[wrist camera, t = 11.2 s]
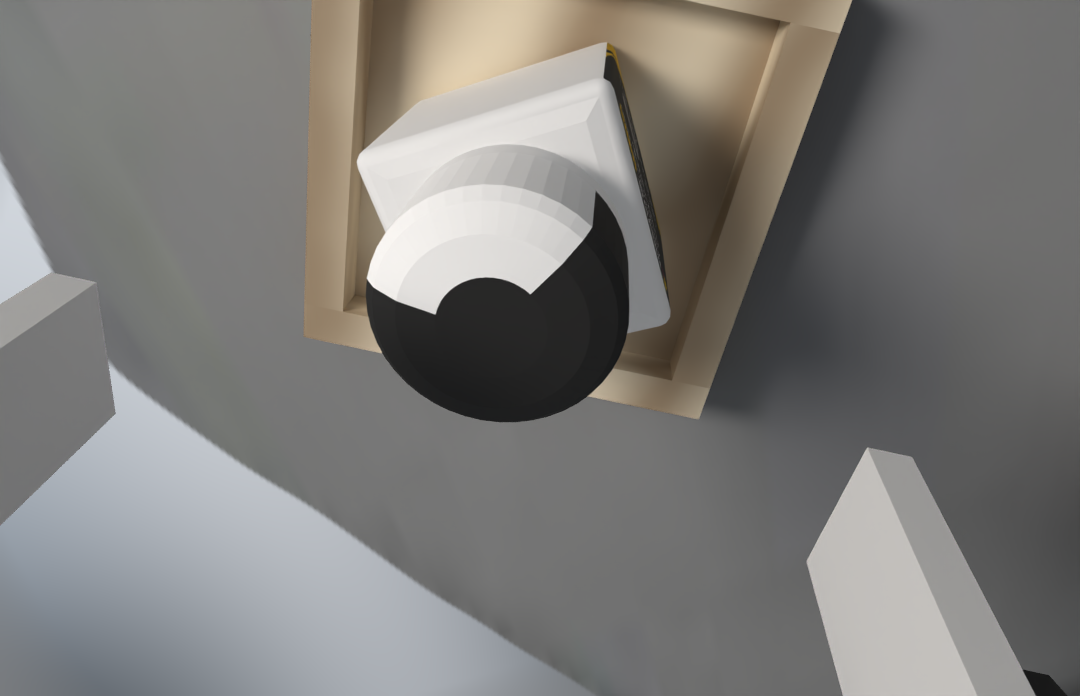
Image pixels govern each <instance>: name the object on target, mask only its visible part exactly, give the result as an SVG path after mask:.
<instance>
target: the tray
mask: <svg viewBox="0 0 1080 696" xmlns="http://www.w3.org/2000/svg"><path fill="white" fill-rule="evenodd" d="M851 2H852V0H312V15H311V56H310V97H309V138H308V179H307V220H306V261H305V302H304V337H307V338H312V339H316V340H321V341H326V342H331V343H335V344H340V345H345V346H350V347H355V348H359V349H364V350H369V351H374V352H379V353H382V351H381V349H380V347H379V346H378V344H377V342H376V339H375V337H374V334H373V332H372V329H371V326H370V322H369V317H368V313H367V305H366V283H367V276H368V271H369V267H370V263H371V260H372V258H373V255H374V253H375V250H376V248H377V246H378V244H379V243H380V241H381V239H382V238H383V236H384V235H385V233H386V232H385V230H384V228H383V225H382V223H381V221H380V218H379V216H378V214H377V212H376V209H375V207H374V205H373V202H372V200H371V198H370V195H369V193H368V191H367V188H366V186H365V184H364V182H363V179H362V177H361V175H360V172H359V170H358V166H357V159H358V156H359V154H360V153H361V152H362V151H363V150H364V149H366V148H367V147H368V146H369V145H370V144H371V143H372V142H373V141H375V140H376V139H377V138H378V137H379V136H380V135H381V134H383V133H384V132H385V131H386V130H387V129H388V128H389V127H390V126H392V125H393V124H394V123H395V122H396V121H397V120H398V119H400V118H401V117H402V116H403V115H404V114H405V113H406V112H407V111H409V110H410V109H411V108H412V107H413V106H414V105H415V104H417V103H418V102H420V101H421V100H424V99H428V98H431V97H434V96H437V95H440V94H443V93H446V92H449V91H452V90H456V89H459V88H462V87H465V86H468V85H471V84H474V83H477V82H480V81H483V80H487V79H490V78H493V77H496V76H499V75H502V74H505V73H508V72H511V71H515V70H518V69H521V68H524V67H527V66H530V65H533V64H536V63H539V62H543V61H546V60H549V59H552V58H555V57H558V56H561V55H564V54H567V53H571V52H574V51H577V50H580V49H583V48H586V47H589V46H592V45H595V44H598V43H605V42H607V43H609V44H611V45H612V46H613V47H614V49H615V51H616V55H617V59H618V63H619V67H620V71H621V75H622V79H623V83H624V87H625V91H626V95H627V99H628V103H629V107H630V111H631V115H632V119H633V124H634V128H635V132H636V136H637V140H638V144H639V148H640V152H641V156H642V160H643V164H644V168H645V172H646V176H647V180H648V184H649V188H650V192H651V196H652V200H653V204H654V208H655V212H656V216H657V220H658V224H659V228H660V233H661V241H662V248H663V256H664V264H665V271H666V279H667V287H668V295H669V302H670V310H671V311H670V318H669V319H668V321H667V322H666V323H665V324H663V325H661V326H658V327H653V328H649V329H644V330H640V331H636V332H631V333H627V336H626V341H625V344H624V347H623V349H622V352H621V355H620V357H619V359H618V361H617V362H616V364H615V366H614V368H613V369H612V371H611V372H610V373H609V375H608V376H607V377H606V379H605V380H604V381H603V383H601V384H600V385H599V386H598V387H597V388H596V389H595V390H594V391H593V392H592V393H591V394H590V395H588V396H589V397H594V398H599V399H604V400H608V401H613V402H618V403H623V404H628V405H632V406H637V407H642V408H647V409H651V410H656V411H661V412H666V413H671V414H675V415H680V416H685V417H690V418H695V419H699V417H700V414H701V412H702V409H703V406H704V404H705V401H706V398H707V395H708V393H709V390H710V387H711V384H712V382H713V379H714V376H715V374H716V371H717V368H718V365H719V363H720V360H721V357H722V354H723V352H724V349H725V346H726V343H727V341H728V338H729V335H730V333H731V330H732V327H733V324H734V322H735V319H736V316H737V313H738V311H739V308H740V305H741V303H742V300H743V297H744V294H745V292H746V289H747V286H748V283H749V281H750V278H751V275H752V272H753V270H754V267H755V264H756V262H757V259H758V256H759V253H760V251H761V248H762V245H763V242H764V240H765V237H766V234H767V232H768V229H769V226H770V223H771V221H772V218H773V215H774V212H775V210H776V207H777V204H778V201H779V199H780V196H781V193H782V191H783V188H784V185H785V182H786V180H787V177H788V174H789V171H790V169H791V166H792V163H793V161H794V158H795V155H796V152H797V150H798V147H799V144H800V141H801V139H802V136H803V133H804V131H805V128H806V125H807V122H808V120H809V117H810V114H811V111H812V109H813V106H814V103H815V100H816V98H817V95H818V92H819V90H820V87H821V84H822V81H823V79H824V76H825V73H826V70H827V68H828V65H829V62H830V60H831V57H832V54H833V51H834V49H835V46H836V43H837V40H838V38H839V35H840V32H841V29H842V27H843V24H844V21H845V19H846V16H847V13H848V10H849V8H850V5H851Z"/></svg>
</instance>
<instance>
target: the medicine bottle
mask: <svg viewBox="0 0 1080 696" xmlns="http://www.w3.org/2000/svg"><path fill="white" fill-rule="evenodd" d="M357 166H358V170H359V172H360V175H361V177H362V179H363V182H364V184H365V186H366V188H367V191H368V193H369V195H370V198H371V200H372V202H373V205H374V207H375V209H376V212H377V214H378V216H379V218H380V221H381V223H382V225H383V228H384V230H385V232H386V233H385V235H384V236H383V238H382V239H381V241H380V243H379V244H378V246H377V248H376V250H375V253H374V255H373V258H372V260H371V263H370V267H369V271H368V276H367V283H366V305H367V313H368V317H369V322H370V326H371V329H372V332H373V334H374V337H375V339H376V342H377V344H378V346H379V347H380V349H381V351H382V353H383V355H384V356H385V358H386V359H387V361H388V362H389V363H390V365H391V366H392V367H393V369H394V370H395V371H396V372H397V373H398V374H399V375H400V377H401V378H402V379H403V380H404V381H405V382H406V383H407V384H409V385H410V386H411V387H412V388H413V389H415V390H416V391H417V392H418V393H420V394H421V395H423V396H424V397H426V398H427V399H429V400H430V401H432V402H433V403H435V404H437V405H439V406H441V407H443V408H445V409H448V410H450V411H452V412H455V413H458V414H461V415H464V416H467V417H471V418H475V419H480V420H486V421H494V422H521V421H530V420H535V419H539V418H544V417H548V416H551V415H553V414H556V413H559V412H561V411H564V410H566V409H568V408H569V407H571V406H573V405H575V404H577V403H579V402H580V401H581V400H583V399H584V398H586V397H587V396H588V395H590V394H591V393H592V392H593V391H594V390H595V389H596V388H597V387H598V386H599V385H600V384H601V383H603V381H604V380H605V379H606V377H607V376H608V375H609V373H610V372H611V371H612V369H613V368H614V366H615V364H616V362H617V361H618V359H619V357H620V355H621V352H622V349H623V347H624V344H625V341H626V336H627V333H631V332H636V331H640V330H644V329H649V328H653V327H658V326H661V325H663V324H665V323H666V322H667V321H668V319H669V318H670V311H671V310H670V302H669V295H668V287H667V279H666V271H665V264H664V256H663V248H662V241H661V233H660V228H659V224H658V220H657V216H656V212H655V208H654V204H653V200H652V196H651V192H650V188H649V184H648V180H647V176H646V172H645V168H644V164H643V160H642V156H641V152H640V148H639V144H638V140H637V136H636V132H635V128H634V124H633V119H632V115H631V111H630V107H629V103H628V99H627V95H626V91H625V87H624V83H623V79H622V75H621V71H620V67H619V63H618V59H617V55H616V51H615V49H614V47H613V46H612V45H611V44H609V43H607V42H605V43H598V44H595V45H592V46H589V47H586V48H583V49H580V50H577V51H574V52H571V53H567V54H564V55H561V56H558V57H555V58H552V59H549V60H546V61H543V62H539V63H536V64H533V65H530V66H527V67H524V68H521V69H518V70H515V71H511V72H508V73H505V74H502V75H499V76H496V77H493V78H490V79H487V80H483V81H480V82H477V83H474V84H471V85H468V86H465V87H462V88H459V89H456V90H452V91H449V92H446V93H443V94H440V95H437V96H434V97H431V98H428V99H424V100H421V101H420V102H418V103H417V104H415V105H414V106H413V107H412V108H411V109H410V110H409V111H407V112H406V113H405V114H404V115H403V116H402V117H401V118H400V119H398V120H397V121H396V122H395V123H394V124H393V125H392V126H390V127H389V128H388V129H387V130H386V131H385V132H384V133H383V134H381V135H380V136H379V137H378V138H377V139H376V140H375V141H373V142H372V143H371V144H370V145H369V146H368V147H367V148H366V149H364V150H363V151H362V152H361V153H360V154H359V156H358V159H357Z"/></svg>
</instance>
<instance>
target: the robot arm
mask: <svg viewBox="0 0 1080 696" xmlns="http://www.w3.org/2000/svg"><path fill="white" fill-rule="evenodd" d="M114 415H115V407H114V400H113V394H112V386H111V379H110V373H109V365H108V358H107V352H106V345H105V338H104V331H103V324H102V317H101V310H100V303H99V296H98V290H97V283H96V282H93V281H88V280H84V279H79V278H74V277H70V276H65V275H60V274H56V273H50V274H48V275H47V276H45V277H44V278H42V279H40V280H39V281H37V282H36V283H34V284H32V285H31V286H29V287H28V288H26V289H24V290H22V291H21V292H19V293H18V294H16V295H14V296H13V297H11V298H10V299H8V300H6V301H5V302H3V303H1V304H0V525H1V524H2V523H3V522H4V521H5V520H6V519H7V518H8V517H9V516H10V515H11V514H13V512H15V511H16V510H17V509H18V508H19V507H20V506H21V505H22V504H23V503H24V502H25V501H26V500H27V499H28V498H29V497H30V496H31V495H32V494H33V493H34V492H35V491H36V490H37V489H38V488H39V487H40V486H41V485H42V484H43V483H44V482H46V481H47V480H48V479H49V478H50V477H51V476H52V475H53V474H54V473H55V472H56V471H57V470H58V469H59V468H60V467H61V466H62V465H63V464H64V463H65V462H66V461H67V460H68V459H69V458H70V457H71V456H72V455H73V454H74V453H75V452H76V451H77V450H79V449H80V447H81V446H83V444H85V443H86V442H87V441H88V440H89V439H90V438H91V437H92V436H93V435H94V434H95V433H96V432H97V431H98V430H99V429H100V428H101V427H102V426H103V425H104V424H105V423H106V422H107V421H108V420H109V419H110V418H111V417H112V416H114ZM807 565H808V569H809V572H810V576H811V580H812V583H813V587H814V591H815V594H816V598H817V602H818V605H819V609H820V613H821V616H822V620H823V624H824V627H825V631H826V635H827V638H828V642H829V646H830V649H831V653H832V657H833V661H834V664H835V668H836V672H837V675H838V679H839V683H840V686H841V690H842V694H843V696H1067V695H1066V694H1065V693H1064V692H1063V690H1062V689H1061V688H1060V687H1059V686H1058V685H1057V684H1056V683H1055V682H1054V680H1053V679H1052V678H1051V677H1050V676H1049V675H1045V674H1040V673H1036V672H1031V671H1026V670H1022V668H1021V666H1020V664H1019V662H1018V660H1017V659H1016V657H1015V655H1014V653H1013V651H1012V649H1011V647H1010V645H1009V643H1008V641H1007V639H1006V637H1005V635H1004V633H1003V632H1002V630H1001V628H1000V626H999V624H998V622H997V620H996V618H995V616H994V614H993V612H992V610H991V608H990V606H989V605H988V603H987V601H986V599H985V597H984V595H983V593H982V591H981V589H980V587H979V585H978V583H977V581H976V579H975V578H974V576H973V574H972V572H971V570H970V568H969V566H968V564H967V562H966V560H965V558H964V556H963V554H962V552H961V550H960V549H959V547H958V545H957V543H956V541H955V539H954V537H953V535H952V533H951V531H950V529H949V527H948V525H947V523H946V522H945V520H944V518H943V516H942V514H941V512H940V510H939V508H938V506H937V504H936V502H935V500H934V498H933V496H932V495H931V493H930V491H929V489H928V487H927V485H926V483H925V481H924V479H923V477H922V475H921V473H920V471H919V469H918V468H917V466H916V464H915V462H914V460H913V458H912V457H910V456H905V455H900V454H896V453H891V452H886V451H882V450H877V449H872V448H868V447H867V449H866V451H865V452H864V454H863V456H862V458H861V460H860V462H859V464H858V466H857V467H856V469H855V471H854V473H853V475H852V477H851V479H850V481H849V483H848V484H847V486H846V488H845V490H844V492H843V494H842V496H841V498H840V499H839V501H838V503H837V505H836V507H835V509H834V511H833V513H832V514H831V516H830V518H829V520H828V522H827V524H826V526H825V528H824V529H823V531H822V533H821V535H820V537H819V539H818V541H817V543H816V544H815V546H814V548H813V550H812V552H811V554H810V556H809V558H808V559H807Z"/></svg>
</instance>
